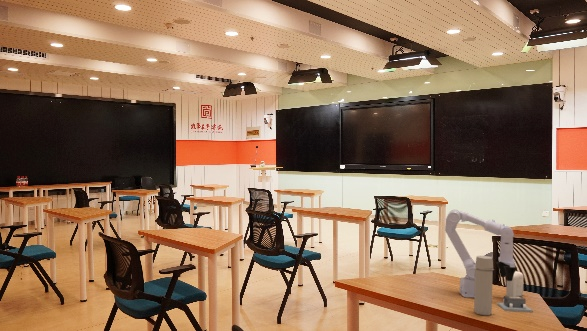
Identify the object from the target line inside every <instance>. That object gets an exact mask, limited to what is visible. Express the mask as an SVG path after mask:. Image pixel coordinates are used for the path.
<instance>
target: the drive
mask: <svg viewBox="0 0 587 331" xmlns="http://www.w3.org/2000/svg"><path fill="white" fill-rule="evenodd" d="M503 299H504V305H505V306H507V307H510V303H511V304H513V306H512V307H515V308H523V304H526V302H527V300H526V298H525V297H523V296H507V295H503ZM526 305H527V304H526Z"/></svg>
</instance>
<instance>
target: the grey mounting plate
mask: <svg viewBox="0 0 587 331" xmlns="http://www.w3.org/2000/svg"><path fill="white" fill-rule="evenodd" d="M502 300H503V302H497V303H496V305H497V306H498V307H499V308H501V309H502V310H503V311H505V312H520V313H521V312H523V313H533V309H532V308H530V307H529V306H527V304H523V308H515V307H512V306H513V304H511V303H510V307H507V306H505V305H504V298H503V299H502Z"/></svg>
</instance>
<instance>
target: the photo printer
mask: <svg viewBox="0 0 587 331" xmlns="http://www.w3.org/2000/svg"><path fill="white" fill-rule="evenodd" d="M523 295H524V274H523V272H520V271H518V270H516V271H515V273H514V276H513V279H512V281H507V280H506V295H505V296H518V297H523Z"/></svg>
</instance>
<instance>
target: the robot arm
mask: <svg viewBox="0 0 587 331" xmlns="http://www.w3.org/2000/svg"><path fill="white" fill-rule="evenodd" d="M460 222H462V223H465V222H469V223H472V224H475V225H476V226H477V225H478V226H481V227H482V228H484V231H486V232H489V233H491V234H493V235H495V236H500V242H499V245H500V246H499V247H500V250H499V256H498V261H496V263H495V264H496V265H497V268H498V271H499V276H500V277H501V278H506V282H507V281H512V279H513V276H514V273H515V271H518V267H517V266H516V260H515V259H514V242H513V241H514V236H515V234H514V230H513V228H511V226H509V225H505V224H504V223H499V222H496V220H494V219H492V220H491V219H489V220H488V219H487V220H484V219H482V218H480V217H477V216H475V215H472V214H470V213H468V212H466V211H462V210H458V209H452V210H451V211H449V212H448V214H447V216H446V218H445V225H444V226H445V227H444V231H445V233H446V235H447V237H448V238H449V240H450V242H451V244H452V245H453V247H454V249H455V251H456V252H457V254H458V256H459V258H460V260H461V262H462V264H463V266H464V268H465V272H466V273H465V274H466V275H465V277H460V280H459V292H458V293H459V294H460V295H461V296H462V297H463V298H474V295H475V269H476V267H475V265H476V261H475V260H473V258H472V257H471V255H470V253H469V252H468V250H467V247H466V246H465V244H464V243H463V241H462V239H461V237H460V236H459V234H458V232H457V230H456V229H457V226H458V224H459V223H460Z"/></svg>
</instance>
